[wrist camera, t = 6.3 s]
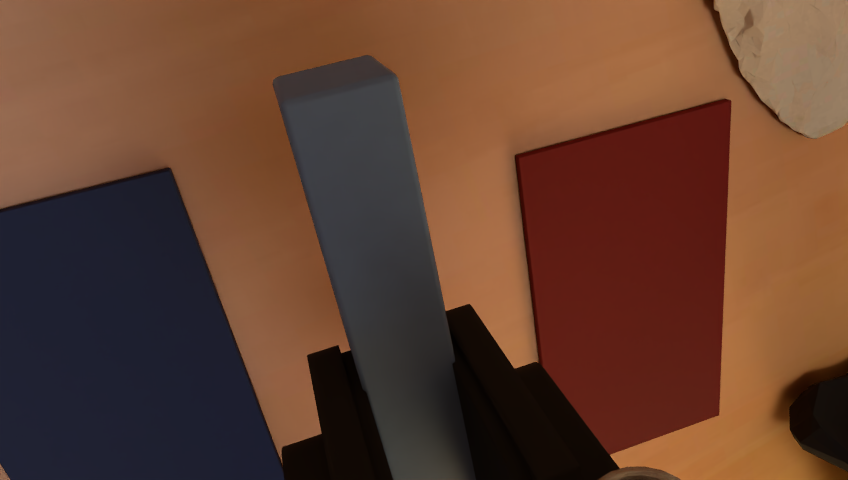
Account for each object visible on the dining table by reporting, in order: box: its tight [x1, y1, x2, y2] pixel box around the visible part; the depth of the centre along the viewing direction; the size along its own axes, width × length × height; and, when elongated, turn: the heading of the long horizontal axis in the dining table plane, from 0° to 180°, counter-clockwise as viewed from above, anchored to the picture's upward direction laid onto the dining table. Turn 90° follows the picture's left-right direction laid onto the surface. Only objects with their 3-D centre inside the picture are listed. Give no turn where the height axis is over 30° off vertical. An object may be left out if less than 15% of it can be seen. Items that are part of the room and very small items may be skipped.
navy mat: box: [0, 168, 284, 480], centre depth 26 cm, size 18×10×1 cm, turn 10°
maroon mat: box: [515, 99, 731, 455], centre depth 31 cm, size 18×10×1 cm, turn 10°
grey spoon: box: [273, 55, 476, 480], centre depth 11 cm, size 14×4×2 cm, turn 11°
